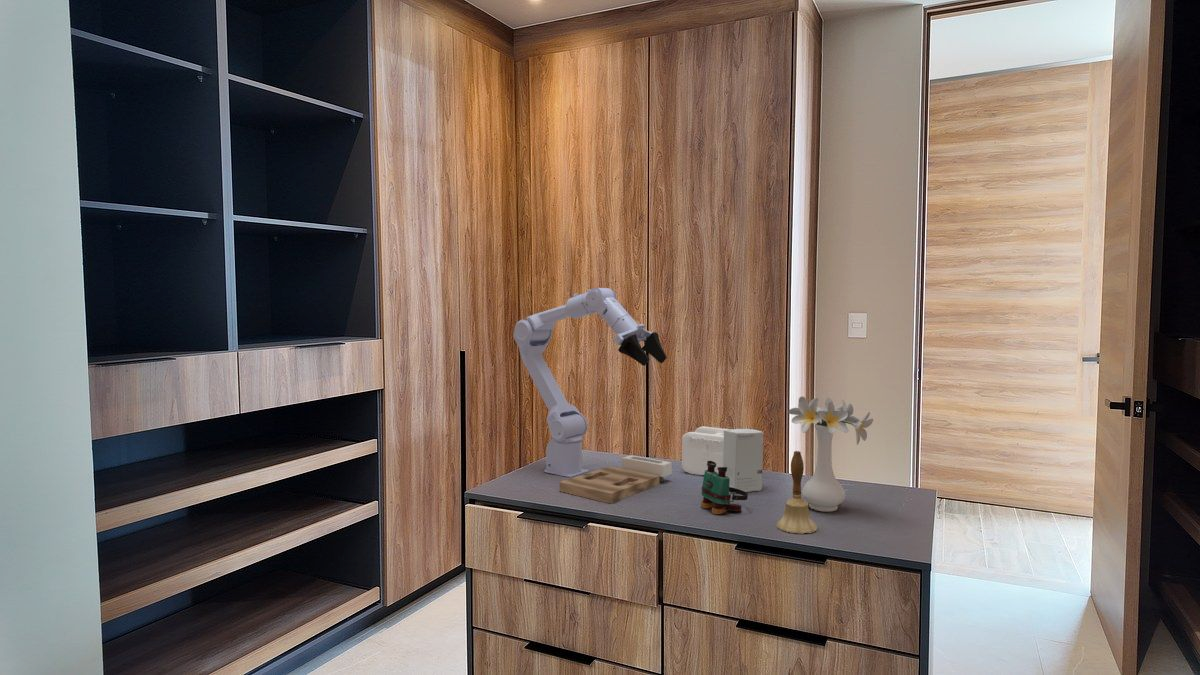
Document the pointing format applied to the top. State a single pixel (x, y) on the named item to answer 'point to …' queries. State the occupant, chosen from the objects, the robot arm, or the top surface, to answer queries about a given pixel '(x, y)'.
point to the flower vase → (826, 448)
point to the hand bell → (797, 504)
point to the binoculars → (719, 490)
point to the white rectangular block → (647, 466)
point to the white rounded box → (702, 449)
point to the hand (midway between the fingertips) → (655, 361)
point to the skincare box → (743, 458)
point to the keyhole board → (609, 484)
